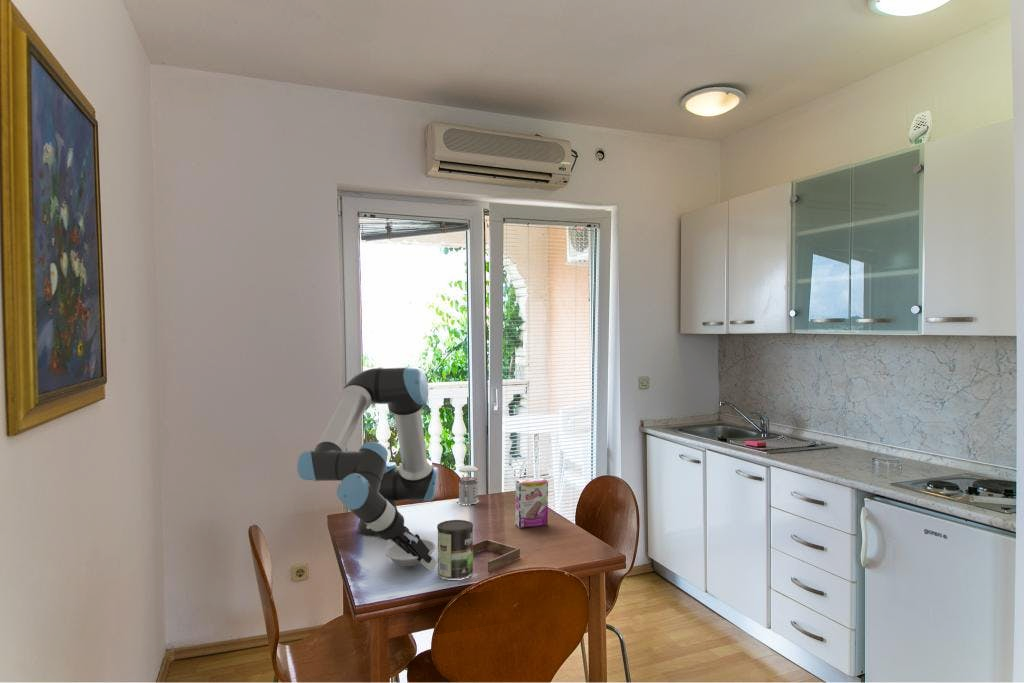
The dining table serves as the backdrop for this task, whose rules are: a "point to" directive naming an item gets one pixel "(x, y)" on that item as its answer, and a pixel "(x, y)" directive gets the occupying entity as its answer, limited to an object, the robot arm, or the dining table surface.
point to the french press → (468, 485)
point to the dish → (406, 554)
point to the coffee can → (455, 549)
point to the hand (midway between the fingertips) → (433, 565)
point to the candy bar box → (531, 503)
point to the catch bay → (508, 551)
